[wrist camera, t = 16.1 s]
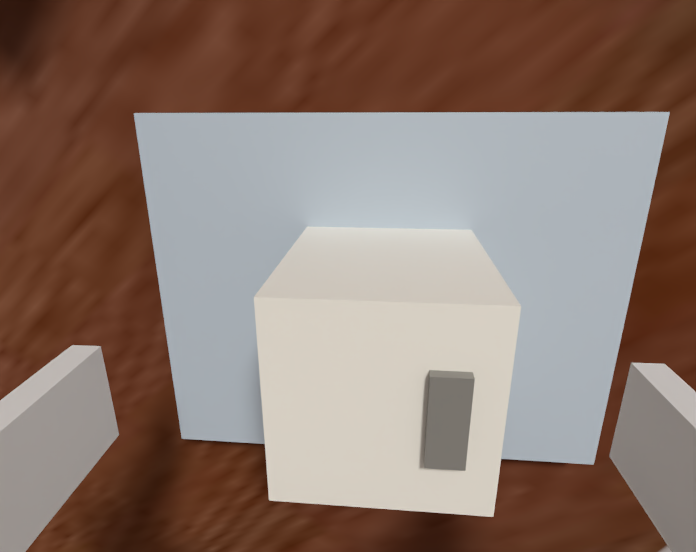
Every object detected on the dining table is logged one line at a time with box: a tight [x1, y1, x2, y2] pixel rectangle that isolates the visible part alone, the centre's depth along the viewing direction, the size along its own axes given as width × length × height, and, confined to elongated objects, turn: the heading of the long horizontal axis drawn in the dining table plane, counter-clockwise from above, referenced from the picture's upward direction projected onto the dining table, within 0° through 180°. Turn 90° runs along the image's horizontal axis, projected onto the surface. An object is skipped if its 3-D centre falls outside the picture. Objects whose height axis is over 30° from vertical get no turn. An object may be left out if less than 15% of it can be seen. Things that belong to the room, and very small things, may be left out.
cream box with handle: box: [254, 227, 521, 517], centre depth 15 cm, size 6×6×7 cm
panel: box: [134, 112, 670, 465], centre depth 16 cm, size 18×14×6 cm
